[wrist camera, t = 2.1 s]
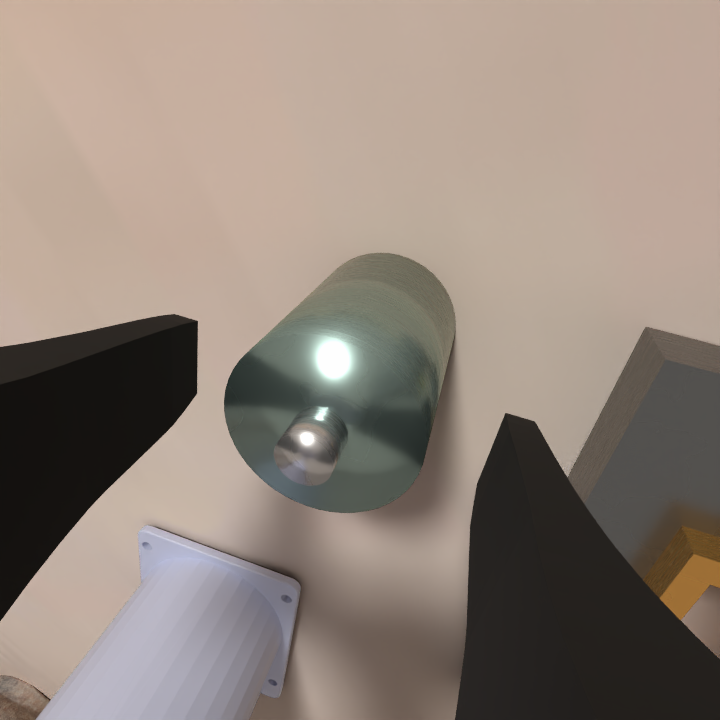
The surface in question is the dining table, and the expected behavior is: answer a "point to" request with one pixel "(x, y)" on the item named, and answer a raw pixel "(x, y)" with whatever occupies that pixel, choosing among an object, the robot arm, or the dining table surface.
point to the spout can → (346, 386)
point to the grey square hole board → (660, 467)
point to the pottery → (20, 700)
